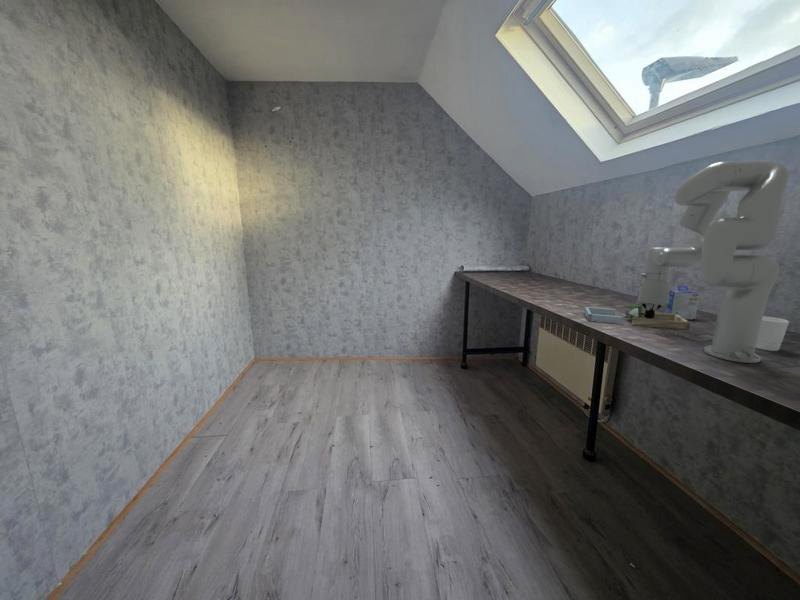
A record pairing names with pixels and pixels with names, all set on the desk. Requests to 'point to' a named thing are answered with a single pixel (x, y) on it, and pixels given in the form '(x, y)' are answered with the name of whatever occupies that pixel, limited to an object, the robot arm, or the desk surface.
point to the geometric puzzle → (635, 312)
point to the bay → (602, 315)
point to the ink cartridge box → (683, 303)
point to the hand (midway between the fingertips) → (648, 318)
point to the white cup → (771, 333)
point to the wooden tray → (661, 321)
